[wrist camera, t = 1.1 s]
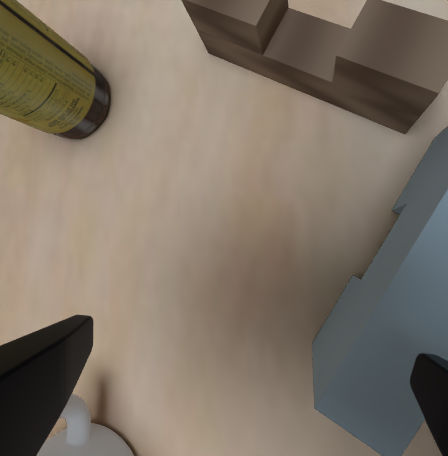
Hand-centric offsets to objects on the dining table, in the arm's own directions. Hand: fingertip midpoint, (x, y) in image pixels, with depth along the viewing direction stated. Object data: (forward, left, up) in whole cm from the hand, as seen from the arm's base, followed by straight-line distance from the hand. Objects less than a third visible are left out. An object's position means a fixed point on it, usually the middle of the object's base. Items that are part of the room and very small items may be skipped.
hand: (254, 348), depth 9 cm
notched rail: (+6, -13, -11) cm, 18 cm away
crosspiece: (-4, -5, -11) cm, 13 cm away
